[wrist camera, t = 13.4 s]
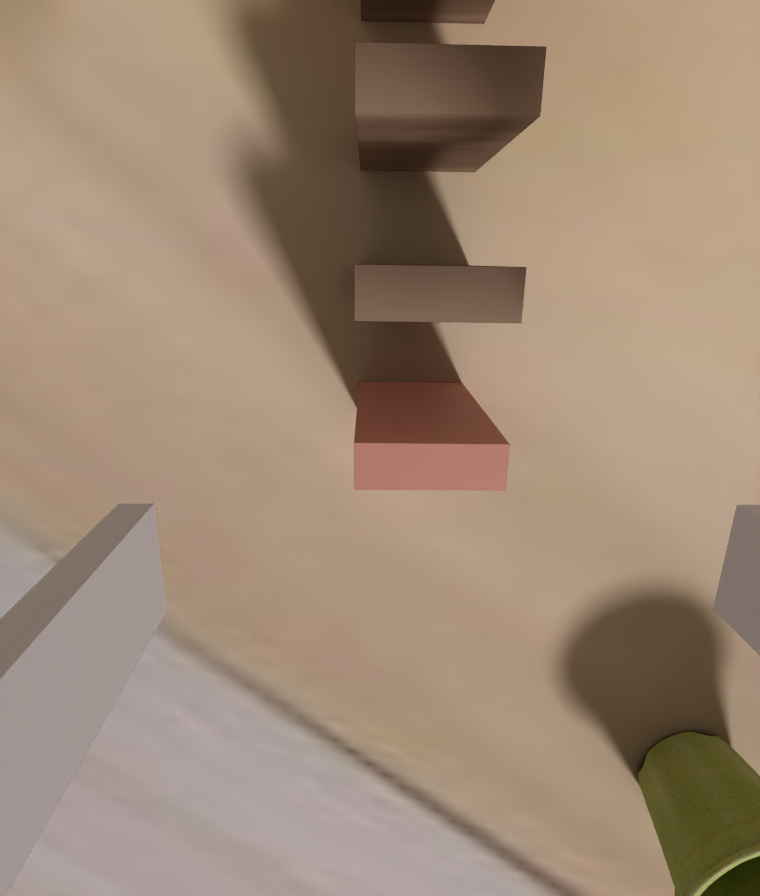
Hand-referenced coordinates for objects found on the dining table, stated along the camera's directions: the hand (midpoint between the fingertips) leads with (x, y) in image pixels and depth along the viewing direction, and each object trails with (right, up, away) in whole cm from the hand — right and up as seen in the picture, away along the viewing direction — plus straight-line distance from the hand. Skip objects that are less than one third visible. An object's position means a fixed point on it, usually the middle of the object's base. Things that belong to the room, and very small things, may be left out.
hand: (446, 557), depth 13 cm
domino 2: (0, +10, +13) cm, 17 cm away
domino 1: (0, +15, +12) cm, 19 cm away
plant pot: (+18, -18, +23) cm, 34 cm away
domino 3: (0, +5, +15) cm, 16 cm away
